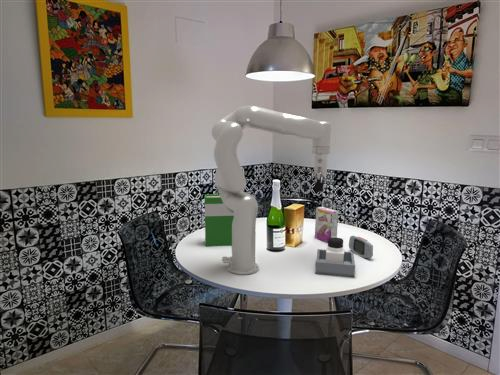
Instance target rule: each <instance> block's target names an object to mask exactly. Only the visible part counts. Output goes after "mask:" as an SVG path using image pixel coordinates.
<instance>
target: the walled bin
mask: <svg viewBox="0 0 500 375" xmlns="http://www.w3.org/2000/svg"><path fill="white" fill-rule="evenodd" d="M354 254H355V253H354V252H353V251H346V250H344V264H343V263H332V262H326V249H322V248H321V249H319V248H317V250H316V258H315V275H323V276H325V275H326V276H334V277H344V278H354V279H355V275H356V274H355V272H356V263H355V262H356V261H355V255H354Z"/></svg>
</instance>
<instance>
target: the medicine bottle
mask: <svg viewBox="0 0 500 375" xmlns="http://www.w3.org/2000/svg"><path fill="white" fill-rule="evenodd" d="M325 250H326V262H332V263H343V264H344V251H345V248H344V239H343V238H341V237H339V236H337V237H330V238H329V239H328V243H327V245H326V248H325Z"/></svg>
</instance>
